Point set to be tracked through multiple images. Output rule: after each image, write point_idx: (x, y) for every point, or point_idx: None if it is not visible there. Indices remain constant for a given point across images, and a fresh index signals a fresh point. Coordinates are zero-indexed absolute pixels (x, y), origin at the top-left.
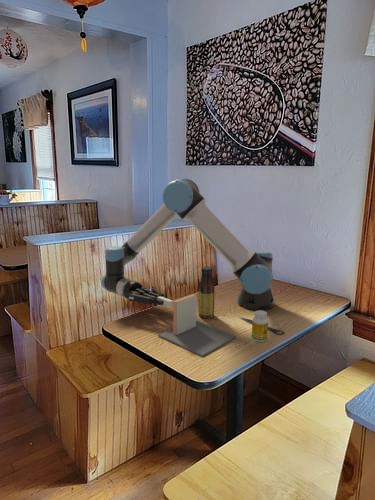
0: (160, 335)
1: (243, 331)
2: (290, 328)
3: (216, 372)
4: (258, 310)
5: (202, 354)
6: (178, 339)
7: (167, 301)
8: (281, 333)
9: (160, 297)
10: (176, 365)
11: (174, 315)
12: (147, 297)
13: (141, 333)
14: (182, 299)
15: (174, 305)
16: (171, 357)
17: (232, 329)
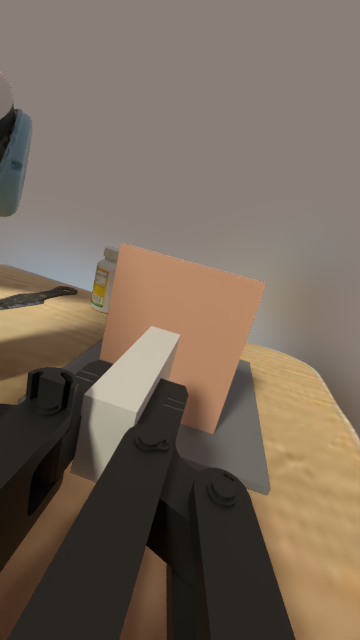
0: (267, 474)
1: (79, 318)
2: (38, 280)
3: (267, 351)
4: (108, 248)
5: (247, 362)
6: (234, 410)
7: (174, 347)
8: (71, 289)
9: (130, 385)
10: (321, 396)
11: (241, 351)
12: (233, 562)
13: (341, 631)
14: (217, 269)
15: (258, 303)
16: (313, 411)
17: (73, 329)
